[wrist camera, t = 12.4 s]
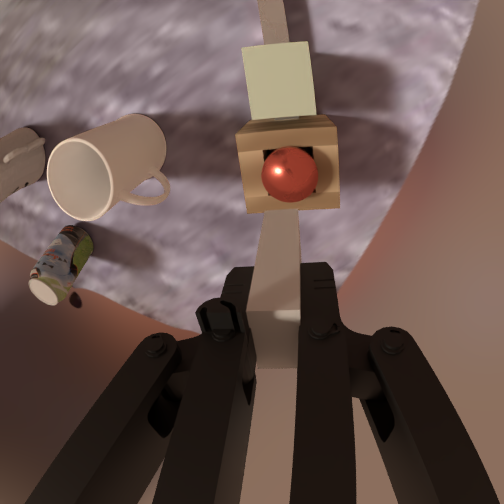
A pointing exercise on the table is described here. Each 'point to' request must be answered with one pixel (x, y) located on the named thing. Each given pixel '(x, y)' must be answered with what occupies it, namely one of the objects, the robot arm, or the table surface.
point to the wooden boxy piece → (297, 135)
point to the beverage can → (60, 265)
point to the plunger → (289, 174)
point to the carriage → (279, 80)
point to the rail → (274, 27)
